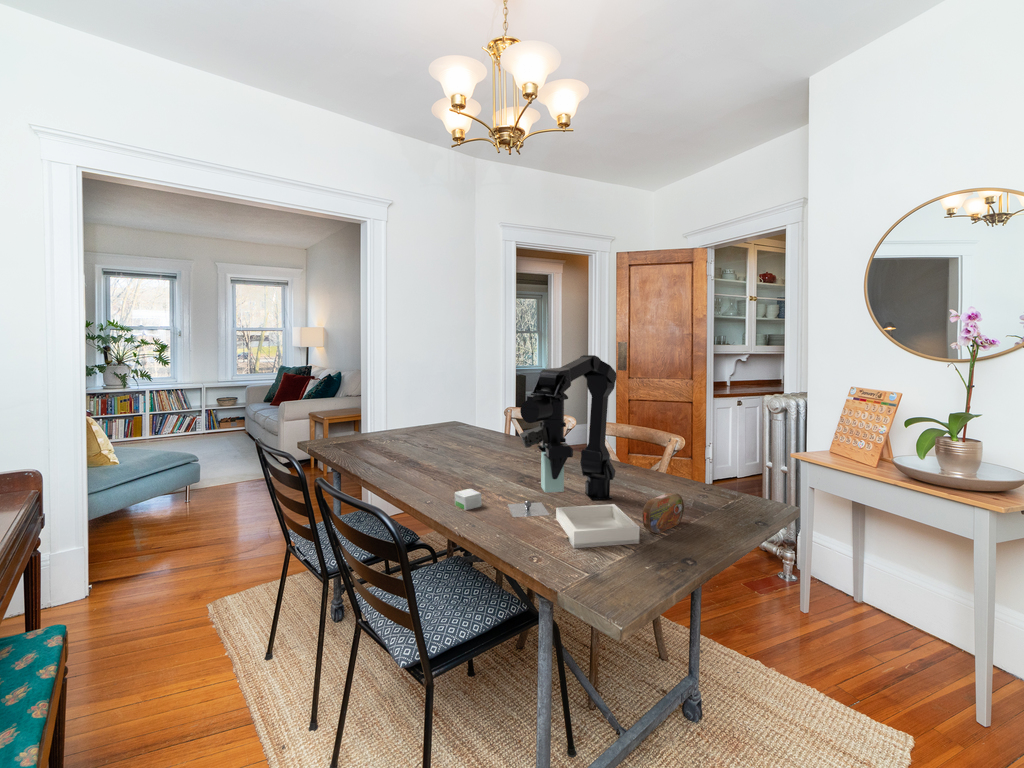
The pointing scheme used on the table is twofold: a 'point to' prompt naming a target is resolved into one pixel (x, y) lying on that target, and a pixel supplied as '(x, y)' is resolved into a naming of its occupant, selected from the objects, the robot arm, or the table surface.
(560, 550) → the table surface
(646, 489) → the table surface
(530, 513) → the stud plate
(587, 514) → the bin
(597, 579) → the table surface
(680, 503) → the tin
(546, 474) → the block
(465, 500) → the small box
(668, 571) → the table surface
